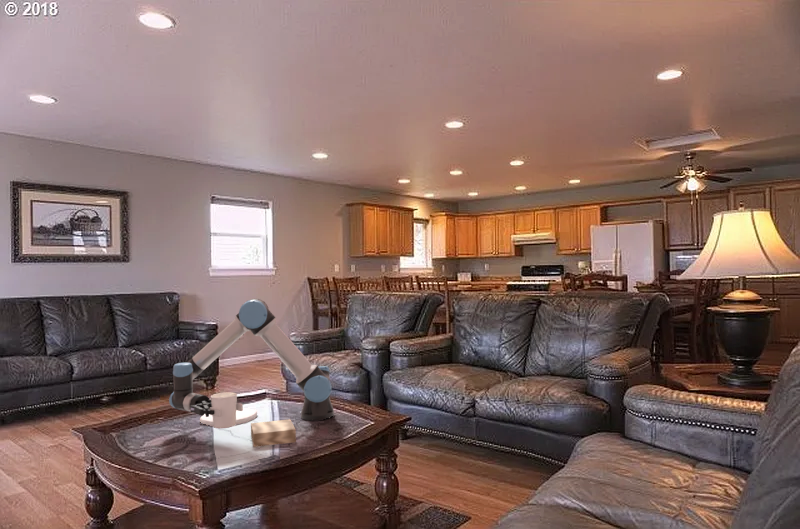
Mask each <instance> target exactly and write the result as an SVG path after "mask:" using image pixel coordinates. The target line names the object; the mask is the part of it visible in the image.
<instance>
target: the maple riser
mask: <svg viewBox="0 0 800 529" xmlns="http://www.w3.org/2000/svg"><path fill="white" fill-rule="evenodd" d="M296 430H297V429H296V428H295V426H294V424H293V421H292V420H291V419H289V418H287V419H280V420H270V421H261V422H251V423H250V437H251V442H252V445H253V448H257V447H266V446H272V445H273V446H274V445H282V444H283V445H284V444H291V443H297V438H296V437H297V431H296Z"/></svg>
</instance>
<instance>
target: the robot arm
mask: <svg viewBox="0 0 800 529" xmlns="http://www.w3.org/2000/svg"><path fill="white" fill-rule="evenodd" d="M234 317H235V319H233V320H232V321H231V322H230V323H229V324H228V325H227V326H226V327H224V329H223V330H221V331H220V332H219V333H218V334H217V335H216V336H214V337H213V339H211V340H210V341H209V342H208V343H207V344H206V345H205V346H204V347H202V349H200V350H199V351H198V352H197V353H196V354H194V355H193V357H191V358H190V359H189V360H187V362H178V363H175V364H174V365H173V369H172V375H173V377H172V378H173V380H172V381H173V392H172V393H171V394H170V396H169V398H168V402H169V405H170V406H171V407H172V408H174V409H176V410H178V411H184V412H190V413H192V414H197V415H198V416H201V417H202V416H203V415H204V414H206V417H209V414H210V415H213V416H218V417H222V411H221V409H217V408H212V404H211V398H209V396H207V395H206V394H200V393H195V392H193V390H194V384H193V381H194V380H195V379H196V378H197V377H198V376H199V375H200V374H201V373H203V371H204V370H206V368H208V367H209V366H211V364H212V363H213V362H214V361H216V359H218V358H219V357H220V356H221V355H222V354H223V353H225V351H226V350H228V348H230V347H231V346H232V345H233V344H234V343H236V342H237V341H238V340H239V339H240V338H241V337H242V336H243V335H244V334H246V333H247V332H251V333H252V334H253V336H255V337H260V338H261V339H262V340H263V341H264V343H266V345H267V346H268V348H270V350H271V351H272V352H273V353H274V354H275V355H276V356H277V358H279V360H280V361H281V363H283V364H284V366H285V367H286V368H287V369H288V370H289V372H290V373H291V374H293V376H294V377H295V378H296V379H295V380H296V381H295V384H296V385H297V386H298V387H299V389H300V390H301V391H302V392H303V393H304V395H303V396H304V399H303V400H304V401H303V405H302V407H301V412H300V418H301V419H302V420H304V421H305V420H306V421H313V420H315V421H323V420H322V419H325V420H327V419H326V418H329V417H331V416H333V415H334V416H335V411H334V410H335V409H334V406H333V404H332V402H331V398H330V397H331V393H332V389H333V387H332V382H331V378H330V376H331V375H330V373H331V371H330V367H329V366H327V365H326V366H325V365H324V366H321V365H320V366H318V365H317V364H312V363H311V362H310V361H309V359H307V357H306V356H305V355H304V354H303V353H302V351H300V349H299V348H298V347H297V346H296V345H295V344H294V343H293V341H292V340H291V339H290V338H289V336H287V334H285V332H284V331H283V330H282V329H281V327H280V326H279V325H278V324H277V317H276V316H275V315H274V314H273V312H272V311H271V310H270V309H269V307H268V304H267V303H266V302H265V301H264V300H262V299H261V298H260V299H259V298H252V299H249V300H246V301H245V302H244V303H243V304H241V306H240V308H239V310H238V313H237V314H236V315H235V316H234ZM243 406H244V404H243V403H241V402H237V403H236V410H238V411H243V408H244V407H243ZM334 416H333V417H334ZM329 419H330V418H329Z"/></svg>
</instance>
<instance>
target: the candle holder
mask: <svg viewBox="0 0 800 529" xmlns="http://www.w3.org/2000/svg"><path fill="white" fill-rule="evenodd" d="M237 397H238V394H237V393H236V392H232V391H229V392H228V391H227V392H226V391H225V392H218V393H214V394H211V395H210V400H211V404H212V408H217V409H221V411H222V417H218V416H213V415H212V416H213V426H212V427H213V428H215V429H229V428H232V427H235V426H236V425H235V424H236V403H238V401H237V400H238V399H237Z"/></svg>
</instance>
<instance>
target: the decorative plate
mask: <svg viewBox="0 0 800 529" xmlns="http://www.w3.org/2000/svg"><path fill="white" fill-rule="evenodd" d="M257 417H258V410H257V409H251V408H246V407H243V411H238V410H236V424H235V426H237V425H240V424H244V423H248V422H252V421H253V420H255V419H256V418H257ZM200 422H201V423H203V424H206V425H205V426H208V425H210V426H209V427H214V426H213V416H212V415H210V414H209V417H206V414H204V415H203V416H201V417H200V418H199V423H200ZM201 423H200V424H201ZM203 424H202V425H203Z"/></svg>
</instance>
